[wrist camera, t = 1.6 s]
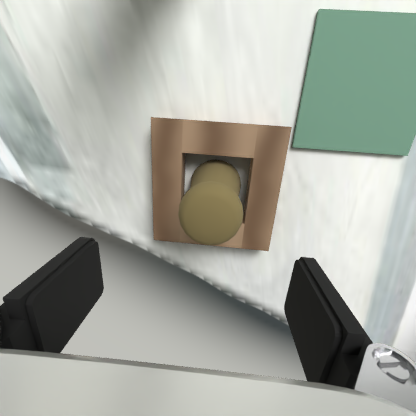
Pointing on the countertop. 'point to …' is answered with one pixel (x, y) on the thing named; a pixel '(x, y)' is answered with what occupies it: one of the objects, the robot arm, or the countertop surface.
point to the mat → (360, 83)
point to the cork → (212, 204)
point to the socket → (223, 146)
